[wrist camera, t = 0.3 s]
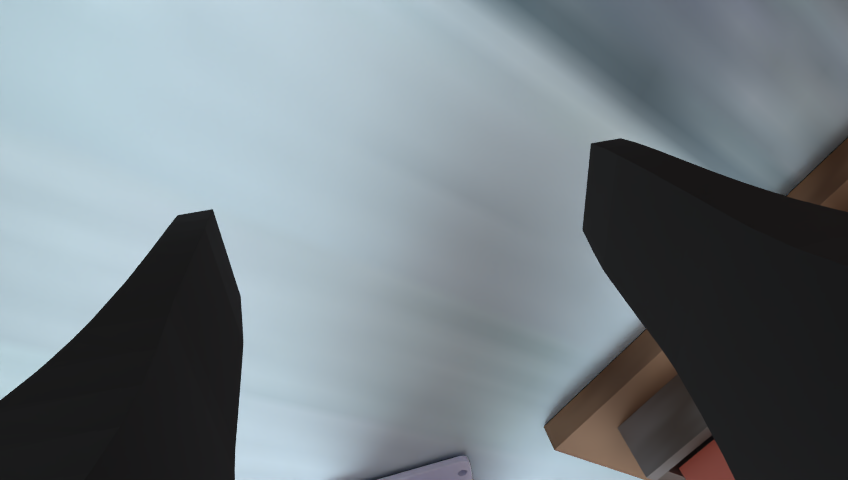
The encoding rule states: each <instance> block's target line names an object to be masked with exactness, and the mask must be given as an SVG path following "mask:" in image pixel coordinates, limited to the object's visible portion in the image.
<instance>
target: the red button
mask: <svg viewBox="0 0 848 480" xmlns="http://www.w3.org/2000/svg"><path fill="white" fill-rule="evenodd" d="M679 469H680V471H681V473H682V474H683V476H684V477H685V479H686V480H735V479H734V477H733V475H732V473H731V471H730V469H729V467H728V464H727V462H726V460H725V458H724V456H723V454H722V453H721V451H720V449H719V447H718V445H717V443H716V441H715V440H712V441H711V442H710V443H709V444H708V445H706V446H705V447H704V448H703V449H702V450H700V451H699V452H698V453H697V454H695V455H694V456H693V457H692V458H691V459H689V460H688V461H687V462H686V463H684V464H683V465H682V466H681V467H680V468H679Z"/></svg>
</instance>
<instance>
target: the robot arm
mask: <svg viewBox="0 0 848 480" xmlns="http://www.w3.org/2000/svg"><path fill="white" fill-rule="evenodd" d="M583 232H584V234H585V236H586V238H587V240H588V242H589V244H590V246H591V248H592V250H593V252H594V254H595V256H596V258H597V259H598V261H599V263H600V265H601V267H602V269H603V270H604V272H605V273H606V274H607V276H608V277H609V279H610V280H611V281H612V283H613V284H614V286H615V287H616V288H617V290H618V291H619V292H620V294H621V295H622V297H623V298H624V299H625V301H626V302H627V303H628V305H629V306H630V307H631V309H632V310H633V311H634V313H635V314H636V316H637V317H638V318H639V320H640V321H641V322H642V324H643V325H644V326H645V328H646V329H647V330H648V332H649V333H650V334H651V336H652V337H653V338H654V340H655V341H656V342H657V344H658V345H659V347H660V348H661V349H662V351H663V352H664V354H665V355H666V356H667V358H668V359H669V361H670V362H671V364H672V365H673V367H674V368H675V370H676V372H677V373H678V375H679V377H680V379H681V380H682V382H683V384H684V385H685V387H686V389H687V391H688V392H689V394H690V396H691V398H692V399H693V401H694V403H695V405H696V406H697V408H698V410H699V412H700V413H701V415H702V417H703V419H704V421H705V423H706V425H707V426H708V428H709V430H710V432H711V434H712V436H713V438H714V440H715V441H716V443H717V445H718V447H719V449H720V451H721V453H722V454H723V456H724V458H725V460H726V462H727V464H728V467H729V469H730V471H731V473H732V475H733V477H734V479H735V480H848V212H846V211H841V210H837V209H833V208H829V207H825V206H821V205H817V204H813V203H809V202H805V201H801V200H798V199H794V198H790V197H787V196H784V195H780V194H777V193H774V192H771V191H767V190H764V189H761V188H758V187H755V186H752V185H749V184H746V183H743V182H740V181H737V180H735V179H732V178H729V177H726V176H723V175H721V174H718V173H715V172H713V171H710V170H707V169H705V168H702V167H699V166H697V165H694V164H692V163H689V162H686V161H684V160H681V159H679V158H676V157H674V156H671V155H668V154H666V153H663V152H661V151H658V150H655V149H653V148H650V147H647V146H644V145H641V144H638V143H635V142H632V141H629V140H625V139H621V138H620V139H614V140H609V141H603V142H597V143H591V149H590V159H589V169H588V179H587V190H586V200H585V210H584V220H583ZM242 355H243V326H242V311H241V297H240V293H239V290H238V287H237V284H236V281H235V278H234V274H233V271H232V268H231V265H230V262H229V259H228V256H227V253H226V249H225V246H224V243H223V240H222V237H221V234H220V231H219V228H218V224H217V221H216V218H215V215H214V212H213V209H211V210H206V211H200V212H194V213H188V214H183V215H178V216H177V217H176V218H175V219H174V220H173V222H172V223H171V224H170V226H169V227H168V228H167V229H166V231H165V232H164V233H163V235H162V236H161V237H160V239H159V240H158V241H157V243H156V244H155V245H154V247H153V248H152V249H151V251H150V252H149V253H148V254H147V256H146V257H145V258H144V260H143V261H142V262H141V263H140V265H139V266H138V267H137V268H136V270H135V271H134V272H133V273H132V275H131V276H130V277H129V278H128V280H127V281H126V282H125V283H124V284H123V285H122V287H121V288H120V289H119V290H118V291H117V292H116V293H115V294H114V295H113V297H112V298H111V299H110V300H109V301H108V302H107V303H106V304H105V306H104V307H103V308H102V309H101V310H100V311H99V312H98V313H97V314H96V316H95V317H94V318H93V319H92V320H91V321H90V322H89V323H88V324H87V325H86V326H85V327H84V328H83V329H82V330H81V331H80V332H79V333H78V334H77V335H76V336H75V337H74V338H73V339H72V340H71V341H70V342H69V343H68V344H67V345H66V346H65V347H63V348H62V349H61V350H60V351H59V352H58V353H57V354H56V355H55V356H54V357H53V358H51V359H50V360H49V361H48V362H47V363H46V364H45V365H44V366H42V367H41V368H40V369H39V370H38V371H37V372H35V373H34V374H33V375H32V376H30V377H29V378H28V379H27V380H25V381H24V382H23V383H22V384H20V385H19V386H18V387H17V388H15V389H14V390H13V391H11V392H10V393H9V394H8V395H6V396H5V397H4V398H3V399H1V400H0V480H235V444H236V432H237V420H238V407H239V395H240V382H241V369H242ZM377 480H473V477H472V471H471V465H470V461H469V459H468V457H466V456H458V457H454V458H451V459H447V460H444V461H440V462H437V463H433V464H430V465H426V466H423V467H419V468H416V469H412V470H409V471H405V472H402V473H398V474H395V475H391V476H388V477H384V478H381V479H377Z"/></svg>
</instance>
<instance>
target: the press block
mask: <svg viewBox="0 0 848 480" xmlns="http://www.w3.org/2000/svg"><path fill="white" fill-rule="evenodd" d="M787 197H790V198H794V199H798V200H801V201H805V202H809V203H813V204H817V205H821V206H825V207H829V208H833V209H837V210H841V211H846V212H848V138H847V139H846V140H845V141H844V142H843V143H842V144H841V145H840V146H839V147H838V148H837V149H835V150H834V151H833V152H832V153H831V154H830V155H829V156H828V157H827V158H826V159H825V160H824V161H823V162H822V163H821V164H820V165H819V166H818V167H817V168H815V169H814V170H813V171H812V172H811V173H810V174H809V175H808V176H807V177H806V178H805V179H804V180H803V181H802V182H801V183H800V184H799V185H798V186H797V187H795V188H794V189H793V190H792V191H791V192H790V193H789V194H788V195H787ZM544 428H545V431H546V433H547V435H548V437H549V439H550V441H551V444H552V446H553V448H554V450H556V451H559V452H562V453H565V454H568V455H571V456H574V457H577V458H580V459H583V460H586V461H589V462H592V463H596V464H599V465H602V466H605V467H608V468H611V469H614V470H617V471H620V472H623V473H626V474H629V475H632V476H635V477H638V478H641V479H644V480H686V479H685V477H684V476H683V474H682V473H681V471H680V469H679V468H680V467H681V466H682V465H683V464H684V463H686V462H687V461H688V460H689V459H691V458H692V457H693V456H694V455H695V454H697V453H698V452H699V451H700V450H702V449H703V448H704V447H705V446H706V445H708V444H709V443H710V442H711V441H712V440H714V438H713V436H712V434H711V432H710V430H709V428H708V426H707V425H706V423H705V421H704V419H703V417H702V415H701V413H700V412H699V410H698V408H697V406H696V405H695V403H694V401H693V399H692V398H691V396H690V394H689V392H688V391H687V389H686V387H685V385H684V384H683V382H682V380H681V379H680V377H679V375H678V373H677V372H676V370H675V368H674V367H673V365H672V364H671V362H670V361H669V359H668V358H667V356H666V355H665V354H664V352H663V351H662V349H661V348H660V347H659V345H658V344H657V342H656V341H655V340H654V338H653V337H652V336H651V334H650V333H649V332H648V330H647V329H646V330H645V331H644V332H643V333H642V334H641V335H640V336H639V337H638V338H637V339H636V340H634V341H633V342H632V343H631V344H630V345H629V346H628V347H627V348H626V349H625V350H624V351H623V352H622V353H621V354H620V355H619V356H618V357H617V358H616V359H615V360H613V361H612V362H611V363H610V364H609V365H608V366H607V367H606V368H605V369H604V370H603V371H602V372H601V373H600V374H599V375H598V376H597V377H596V378H595V379H593V380H592V381H591V382H590V383H589V384H588V385H587V386H586V387H585V388H584V389H583V390H582V391H581V392H580V393H579V394H578V395H577V396H576V397H575V398H573V399H572V400H571V401H570V402H569V403H568V404H567V405H566V406H565V407H564V408H563V409H562V410H561V411H560V412H559V413H558V414H557V415H556V416H555V417H553V418H552V419H551V420H550V421H549V422H548V423H547V424H546V425H545V426H544Z"/></svg>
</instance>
